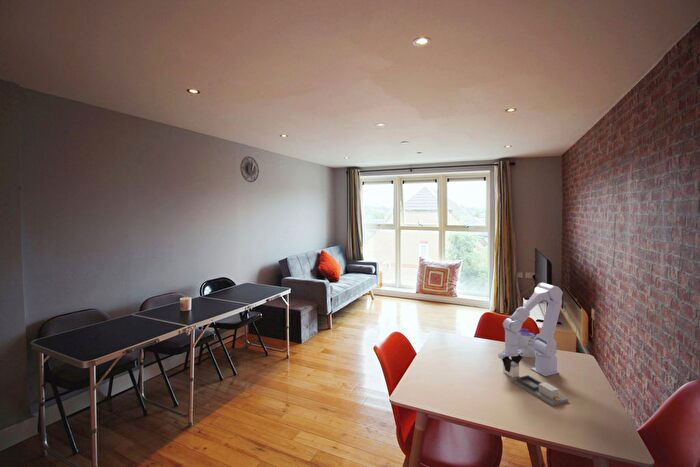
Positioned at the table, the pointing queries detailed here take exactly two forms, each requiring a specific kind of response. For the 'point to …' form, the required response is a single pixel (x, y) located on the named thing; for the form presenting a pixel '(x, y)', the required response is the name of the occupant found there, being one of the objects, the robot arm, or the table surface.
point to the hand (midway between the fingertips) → (511, 370)
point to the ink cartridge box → (526, 343)
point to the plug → (512, 369)
